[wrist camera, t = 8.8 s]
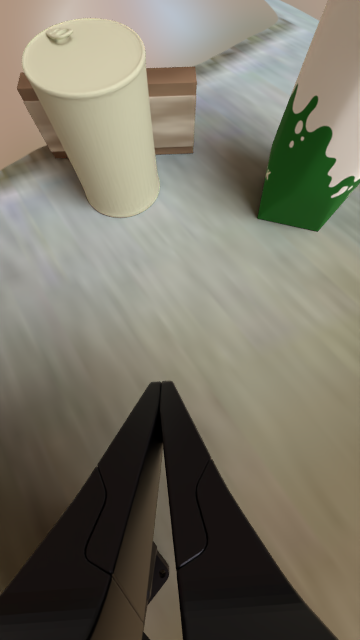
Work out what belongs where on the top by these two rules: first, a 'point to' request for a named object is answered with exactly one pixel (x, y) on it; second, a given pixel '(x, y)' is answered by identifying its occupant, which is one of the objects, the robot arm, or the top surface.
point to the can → (98, 109)
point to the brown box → (165, 107)
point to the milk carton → (319, 127)
